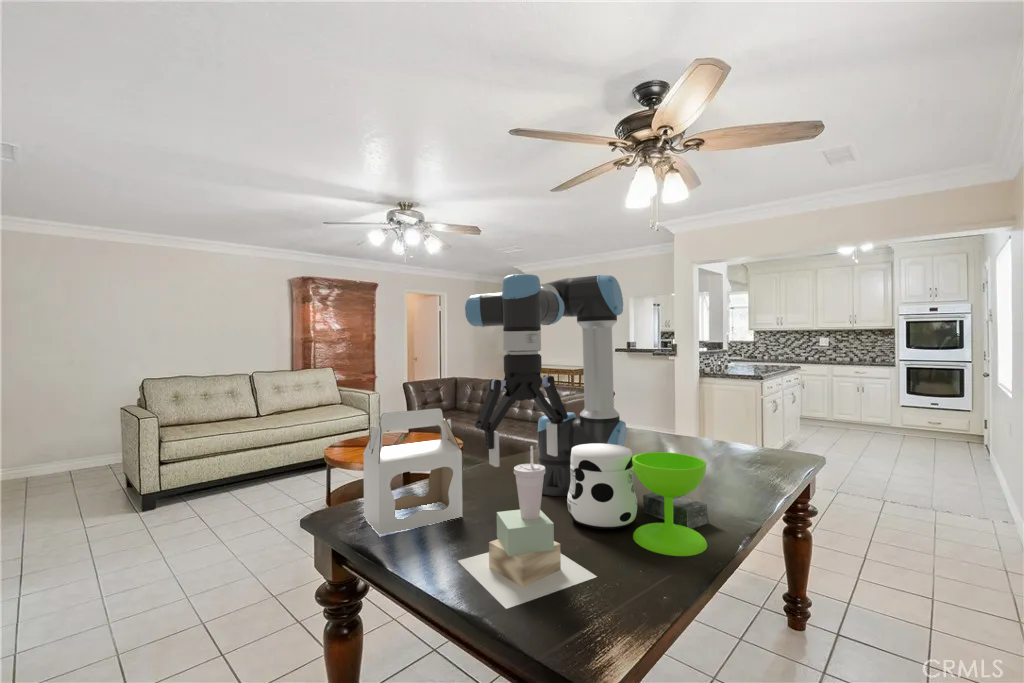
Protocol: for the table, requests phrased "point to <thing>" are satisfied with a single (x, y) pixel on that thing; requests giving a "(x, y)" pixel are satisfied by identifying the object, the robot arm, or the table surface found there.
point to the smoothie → (529, 488)
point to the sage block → (524, 533)
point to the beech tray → (524, 563)
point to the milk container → (602, 486)
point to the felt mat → (515, 594)
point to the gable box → (412, 457)
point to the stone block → (677, 510)
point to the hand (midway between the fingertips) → (524, 460)
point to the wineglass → (669, 501)
